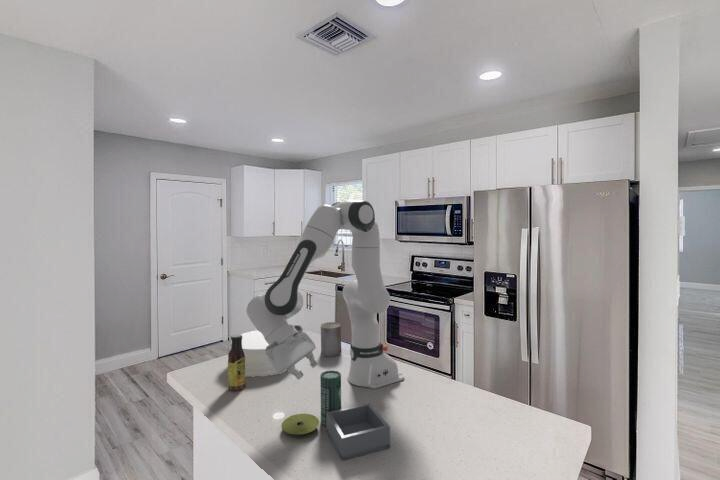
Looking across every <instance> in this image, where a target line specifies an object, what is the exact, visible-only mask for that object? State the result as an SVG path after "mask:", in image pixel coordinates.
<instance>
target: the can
mask: <svg viewBox="0 0 720 480" xmlns="http://www.w3.org/2000/svg"><path fill="white" fill-rule="evenodd" d="M319 379H320V423H321V425H323V426H324V427H327V423H326V412H330V411H335V410H340V409H342V373H341V372H339V371H338V370H326V371H323V372H321V373H320V377H319Z"/></svg>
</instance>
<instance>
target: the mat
mask: <svg viewBox="0 0 720 480" xmlns="http://www.w3.org/2000/svg"><path fill="white" fill-rule="evenodd" d="M319 424H320V420H319V419H318V417H317V416H315V415H314V414H311V413H296V414H292V415H290V416H288V417H287V418H285V419H284V420H283V421H282V423H281V430H283V431H284V432H285V433H286V434H291V435H298V436H299V435H305V434H306V435H307V434H308V433H311V432H314V431H315V430H316V429H318V426H319Z"/></svg>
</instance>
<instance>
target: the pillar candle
mask: <svg viewBox="0 0 720 480" xmlns="http://www.w3.org/2000/svg"><path fill="white" fill-rule="evenodd" d="M341 326H342V325H341V323H339V322H333V321H331V322H330V321H329V322H324V323H322V324H321V325H320V349H321V351H320V352H321V355H322V356H325V357H336V356H339V355H340V354H341V353H342V332H341V331H342V329H341V328H342V327H341Z"/></svg>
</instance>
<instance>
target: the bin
mask: <svg viewBox="0 0 720 480" xmlns="http://www.w3.org/2000/svg"><path fill="white" fill-rule="evenodd" d="M326 423H327V426H326V433H327V435H328V437H329V439H330V441H331V443H332V445H333V447H334V449H335V451H336V452H337V453H338V455H339V457H340V459H341V461H342V462H343V461H347V460H350V459H353V458H354V459H355V458H358V457H361V456H364V455H368V454H371V453H376V452H380V451H383V450H387V449H390V448H391V426H390V425H389V424H388V422H386V420H385V419H384V418H383V417H382V416H381V415H380V413H379V412H378V411H377V410H376V409H375V408H374V407H373V405H372V404H371V403H370V402H368V403H365V404H363V403H362V404H359V405H354V406H350V407H346V408H345V407H344V408H341V409H340V410H335V411H330V412H326Z"/></svg>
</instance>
